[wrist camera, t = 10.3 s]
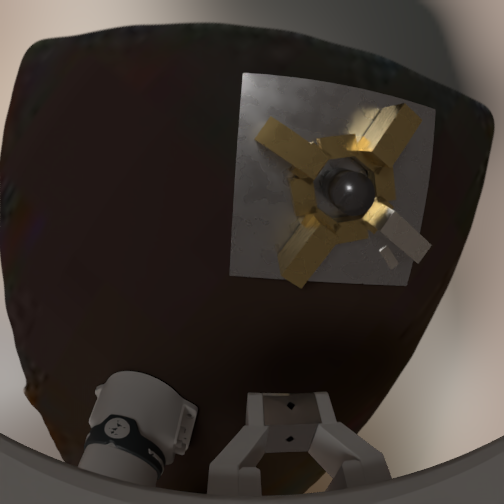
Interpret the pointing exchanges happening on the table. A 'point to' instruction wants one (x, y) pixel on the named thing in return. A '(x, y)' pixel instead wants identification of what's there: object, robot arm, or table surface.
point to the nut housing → (321, 179)
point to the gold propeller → (348, 227)
